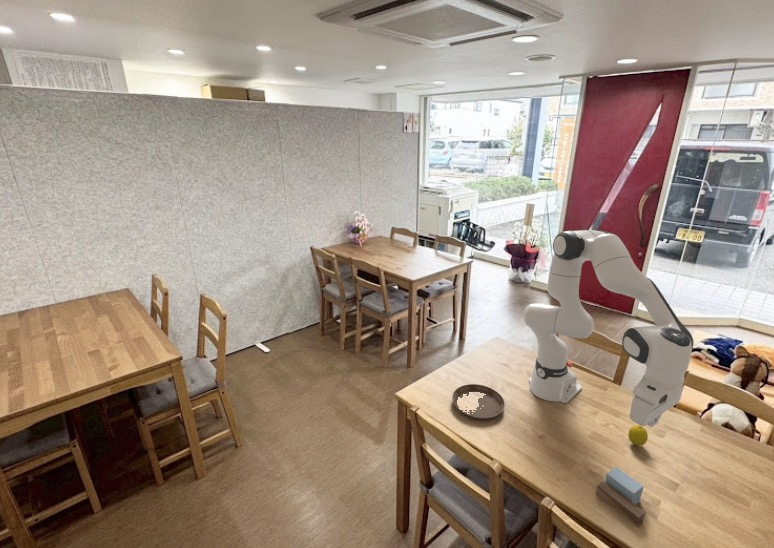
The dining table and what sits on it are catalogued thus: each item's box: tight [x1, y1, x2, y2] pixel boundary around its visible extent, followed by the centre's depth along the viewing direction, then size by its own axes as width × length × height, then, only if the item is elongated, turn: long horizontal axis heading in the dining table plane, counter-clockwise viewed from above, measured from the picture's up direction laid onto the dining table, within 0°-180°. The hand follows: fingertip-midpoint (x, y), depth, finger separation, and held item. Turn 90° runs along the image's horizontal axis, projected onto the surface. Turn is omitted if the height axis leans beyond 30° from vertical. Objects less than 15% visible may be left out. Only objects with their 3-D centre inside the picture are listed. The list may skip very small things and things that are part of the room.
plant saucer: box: [452, 383, 506, 421], centre depth 153 cm, size 21×21×3 cm
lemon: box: [627, 424, 649, 446], centre depth 131 cm, size 6×6×8 cm
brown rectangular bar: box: [595, 480, 646, 528], centre depth 109 cm, size 3×12×4 cm, turn 29°
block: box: [604, 466, 644, 505], centre depth 113 cm, size 5×8×6 cm, turn 29°
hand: (651, 423), depth 110 cm, fingers closed
